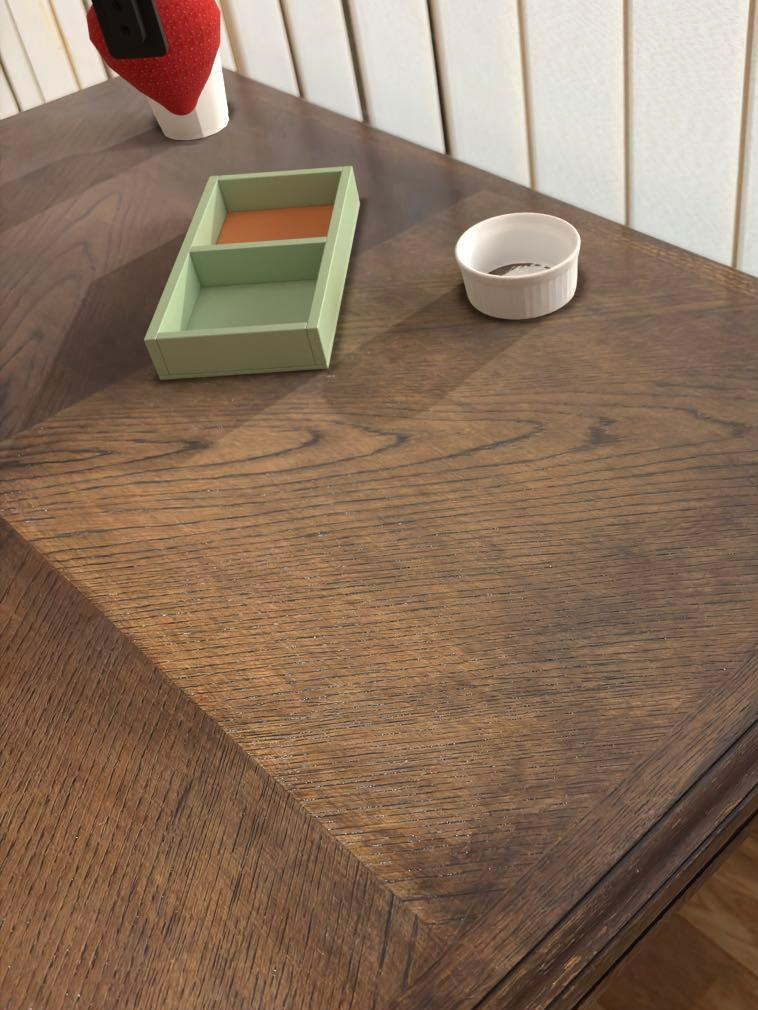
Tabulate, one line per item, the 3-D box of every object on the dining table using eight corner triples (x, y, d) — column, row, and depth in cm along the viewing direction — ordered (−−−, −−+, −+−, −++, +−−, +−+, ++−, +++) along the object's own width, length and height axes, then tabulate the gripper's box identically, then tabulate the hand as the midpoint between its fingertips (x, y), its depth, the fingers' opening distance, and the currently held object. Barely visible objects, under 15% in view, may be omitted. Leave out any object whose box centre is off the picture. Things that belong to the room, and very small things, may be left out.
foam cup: (217, 94, 106) (176, -47, 97) (262, 123, 101) (224, -24, 92) (129, 127, 103) (78, -18, 93) (172, 158, 97) (122, 8, 88)
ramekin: (444, 323, 76) (436, 270, 73) (485, 257, 82) (479, 205, 79) (563, 338, 74) (560, 284, 71) (596, 269, 80) (594, 216, 77)
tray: (162, 388, 73) (143, 339, 70) (223, 221, 89) (209, 176, 86) (330, 376, 73) (317, 327, 70) (361, 210, 88) (352, 165, 85)
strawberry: (111, 112, 66) (47, -66, 59) (228, 81, 68) (181, -94, 61) (133, 149, 62) (68, -36, 55) (257, 115, 64) (210, -68, 57)
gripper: (16, -392, 55) (133, -19, 68) (-131, -342, 43) (45, 100, 56) (159, -403, 54) (249, -26, 67) (52, -356, 42) (186, 91, 55)
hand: (156, 28), depth 61 cm, fingers closed on strawberry, 6 cm apart
